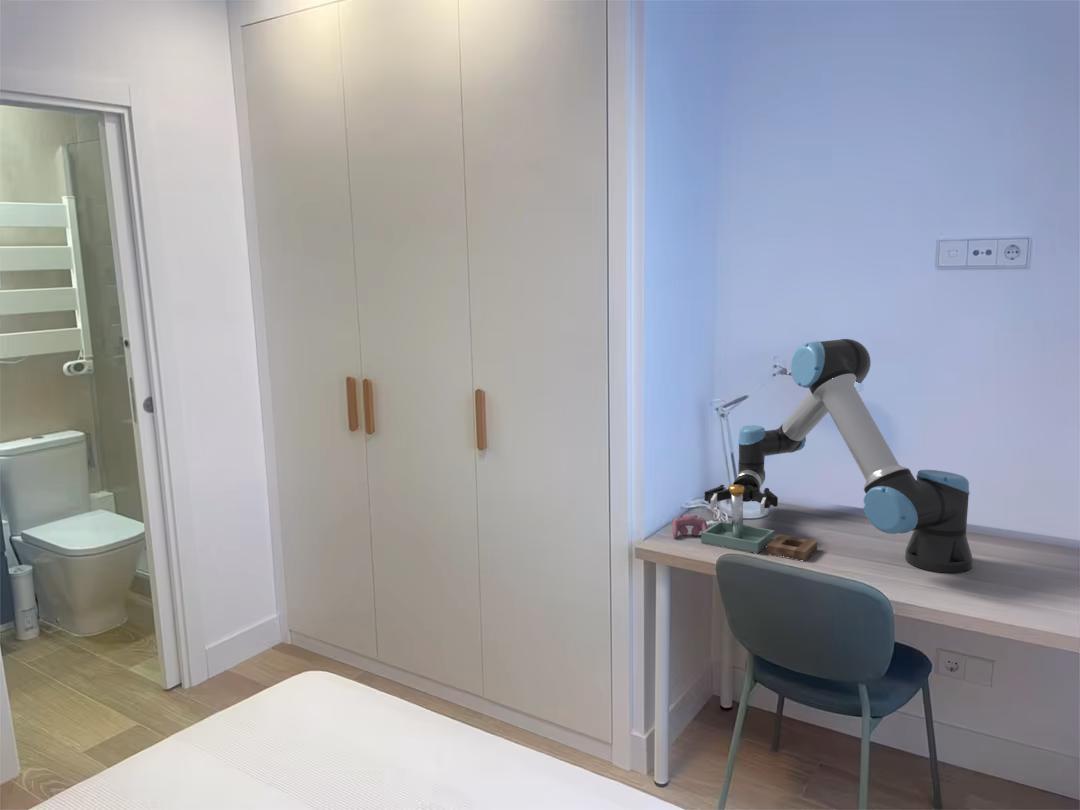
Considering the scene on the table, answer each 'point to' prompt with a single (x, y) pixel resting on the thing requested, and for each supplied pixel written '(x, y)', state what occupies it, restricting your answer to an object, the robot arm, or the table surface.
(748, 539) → the tray
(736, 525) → the pin
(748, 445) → the robot arm
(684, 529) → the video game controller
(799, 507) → the table surface
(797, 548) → the socket block
